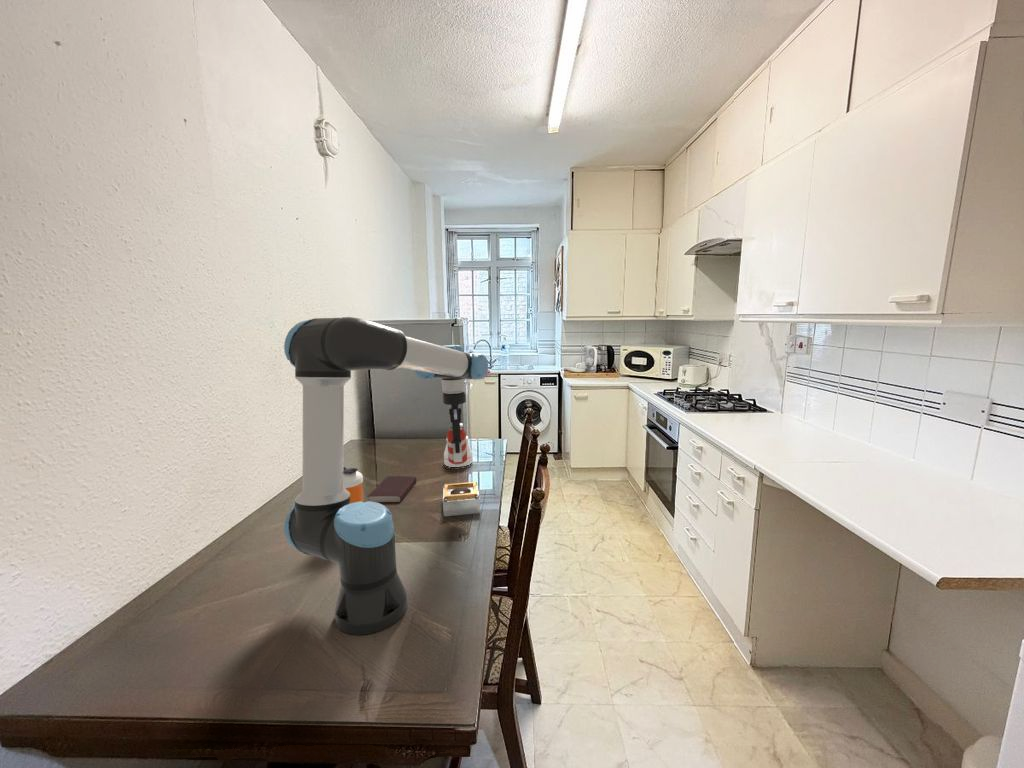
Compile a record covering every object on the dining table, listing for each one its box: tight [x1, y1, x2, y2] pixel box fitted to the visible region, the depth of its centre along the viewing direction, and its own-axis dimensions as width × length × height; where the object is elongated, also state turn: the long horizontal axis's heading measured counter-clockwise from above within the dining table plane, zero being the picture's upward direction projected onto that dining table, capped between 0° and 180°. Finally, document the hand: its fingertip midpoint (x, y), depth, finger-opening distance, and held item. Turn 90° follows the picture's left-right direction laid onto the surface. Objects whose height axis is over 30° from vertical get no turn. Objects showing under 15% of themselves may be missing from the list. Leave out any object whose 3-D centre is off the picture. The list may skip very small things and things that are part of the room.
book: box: [367, 475, 417, 503], centre depth 161 cm, size 12×19×3 cm, turn 176°
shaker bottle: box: [343, 466, 364, 504], centre depth 129 cm, size 9×9×20 cm
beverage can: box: [446, 426, 467, 465], centre depth 143 cm, size 6×6×12 cm
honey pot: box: [443, 422, 474, 468], centre depth 191 cm, size 13×13×18 cm
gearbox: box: [442, 481, 481, 517], centre depth 146 cm, size 14×12×6 cm
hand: (457, 458), depth 144 cm, fingers closed on beverage can, 6 cm apart
